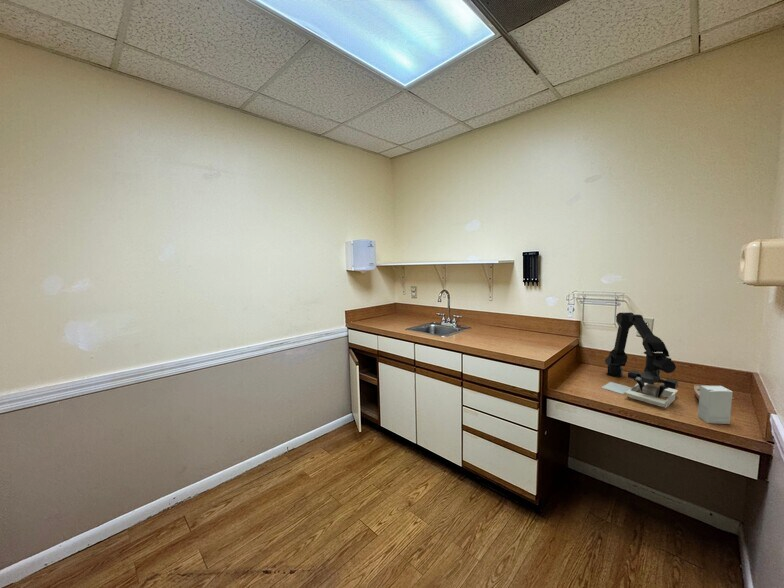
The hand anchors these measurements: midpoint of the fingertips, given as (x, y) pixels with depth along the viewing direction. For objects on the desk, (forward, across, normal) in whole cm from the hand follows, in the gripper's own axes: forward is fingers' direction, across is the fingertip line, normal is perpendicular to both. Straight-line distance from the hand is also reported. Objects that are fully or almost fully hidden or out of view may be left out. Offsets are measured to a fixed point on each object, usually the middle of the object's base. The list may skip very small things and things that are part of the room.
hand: (650, 395), depth 156 cm
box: (+2, 0, +1) cm, 2 cm away
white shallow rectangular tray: (+2, 0, +1) cm, 2 cm away
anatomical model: (+2, +18, +15) cm, 24 cm away
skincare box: (+2, +23, -5) cm, 24 cm away
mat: (+2, -15, +1) cm, 15 cm away
